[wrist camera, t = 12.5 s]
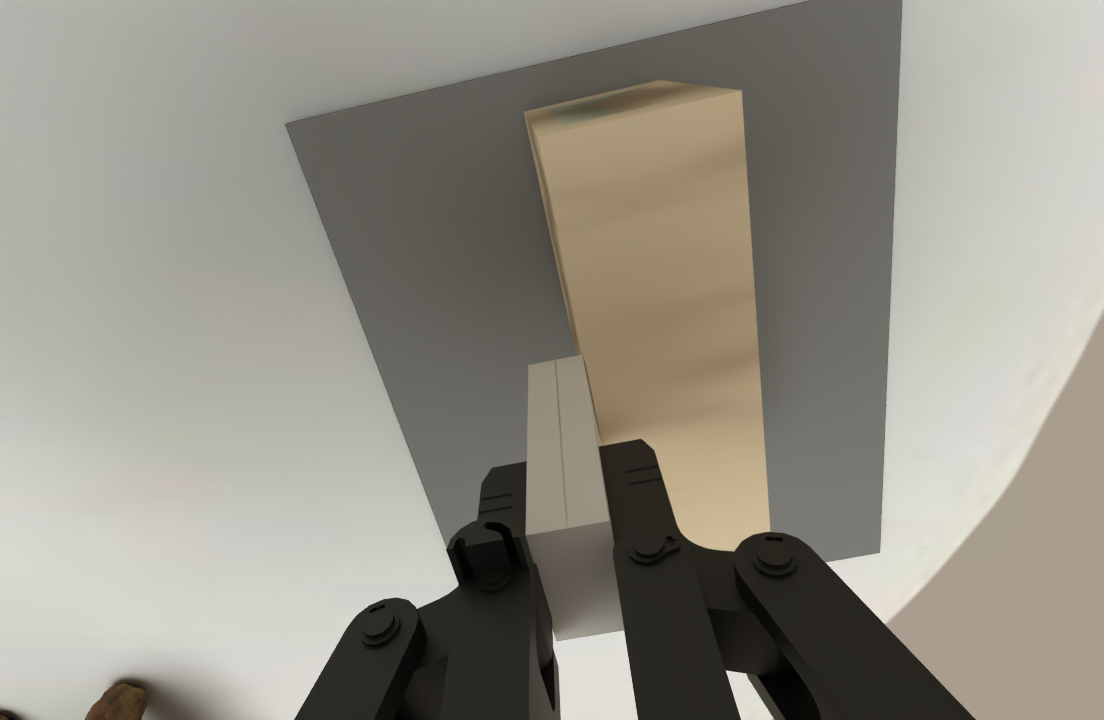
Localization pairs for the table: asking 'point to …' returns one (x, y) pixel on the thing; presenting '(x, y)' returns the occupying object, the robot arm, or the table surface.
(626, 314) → the beech block
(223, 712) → the table surface
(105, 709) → the figurine
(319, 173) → the rubber mat
